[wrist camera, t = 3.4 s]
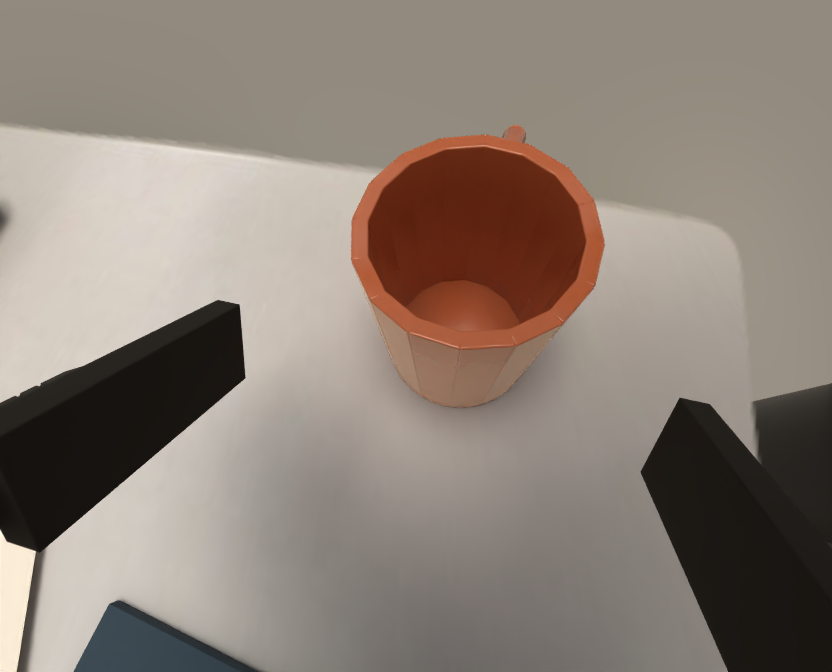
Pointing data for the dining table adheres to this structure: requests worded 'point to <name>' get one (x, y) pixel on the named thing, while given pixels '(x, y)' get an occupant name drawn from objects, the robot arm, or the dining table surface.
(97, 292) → the dining table surface
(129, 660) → the mat
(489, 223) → the tall mug
